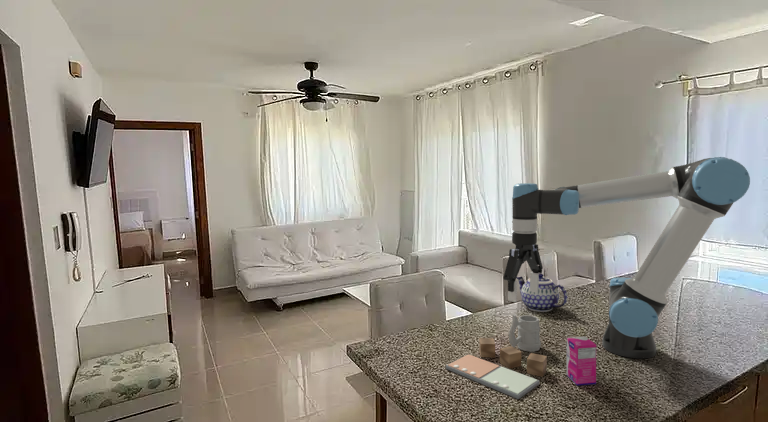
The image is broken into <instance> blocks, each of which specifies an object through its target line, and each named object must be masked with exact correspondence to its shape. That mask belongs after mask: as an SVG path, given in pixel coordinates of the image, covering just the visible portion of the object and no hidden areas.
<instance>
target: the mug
mask: <svg viewBox="0 0 768 422" xmlns="http://www.w3.org/2000/svg"><path fill="white" fill-rule="evenodd" d="M516 330H517V337H516V335H515V331H516ZM540 332H541V326H540V319H539V318H538V317H537V316H533V315H529V314H524V315H520V316H518V317H517V316H516V315H515V314H512V322H511V324H510V328H509V332H508V334H507V335H508V342H509V344H510V345H511V346H512V347H514V348H516V347H517V348H518V350H519V349H520V351H525V352H528V353H530V352H531V353H534V352H537V351H539V350H540V348H541V346H542V342H541V340H540V339H541V338H540Z"/></svg>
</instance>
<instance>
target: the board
mask: <svg viewBox="0 0 768 422" xmlns="http://www.w3.org/2000/svg"><path fill="white" fill-rule="evenodd" d="M445 369H446V370H447V371H451V372H452V373H455V374H458V375H460V376H462V377H464V378H467V379H469V380H471V381H474V382H476V383H478V384H481V385H484V386H486V387H488V388H492V389H493V390H495V391H498V392H500V393H503V394H505V395H507V396H509V397H512V398H514V399H516V400H519V399H521V398H522V397H524V396H525V395H526V394H528V393H529V392H531V391H532V390H533V389H535V388H536V387H538V386H539V385H540V380H539V379H536V378H534V377H531V376H528V375H525V374H523V373H520V372H517V371H515V370H512V369H509V368H507V367H505V366H503V365H502V366H501V365H499V364H496V363H494V362H491V361H488V360H485V359H482V358H481V357H477V356H475V355H471V354H465V355H463V356H462V357H460V358H458V359H456V360H453V361H452V362H449V363H448V364H446V365H445Z"/></svg>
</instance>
